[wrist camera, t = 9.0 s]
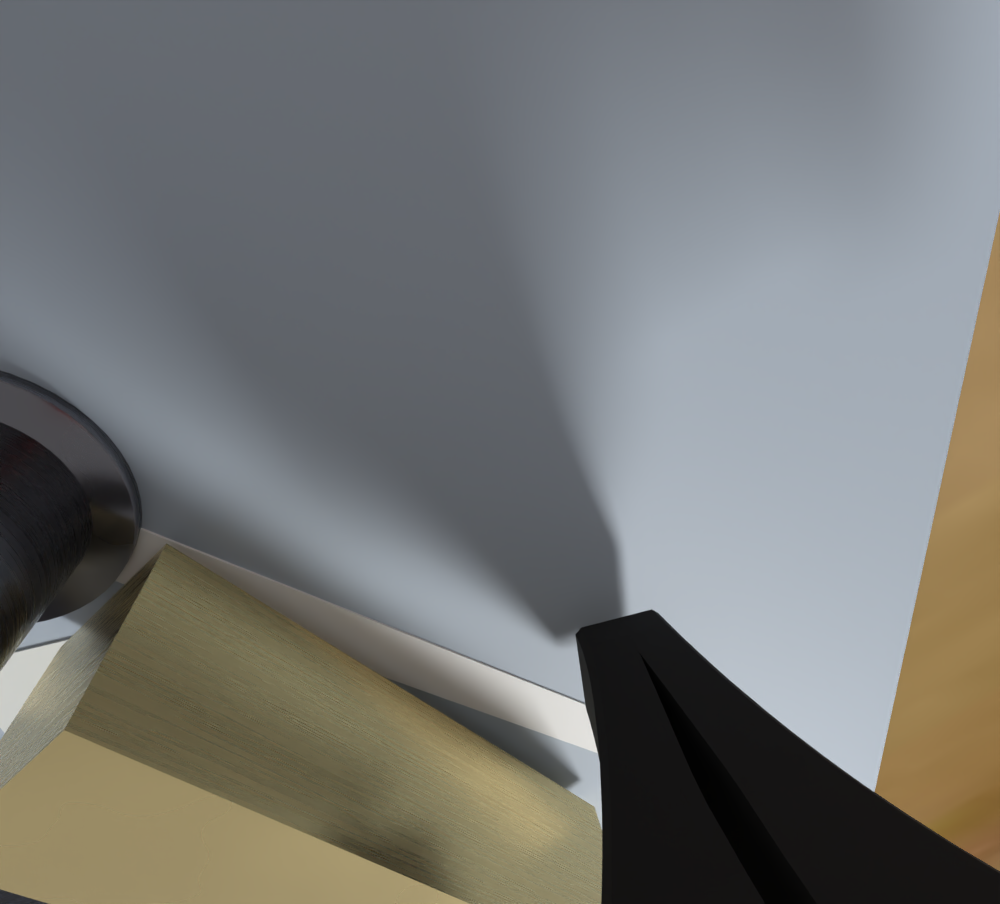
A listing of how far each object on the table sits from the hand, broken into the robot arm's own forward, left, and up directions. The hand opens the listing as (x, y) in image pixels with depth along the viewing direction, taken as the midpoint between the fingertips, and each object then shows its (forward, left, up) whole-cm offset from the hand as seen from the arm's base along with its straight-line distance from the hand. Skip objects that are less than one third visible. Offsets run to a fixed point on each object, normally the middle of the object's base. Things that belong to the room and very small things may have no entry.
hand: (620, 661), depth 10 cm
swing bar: (-4, -1, 0) cm, 5 cm away
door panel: (-3, +1, -1) cm, 4 cm away
